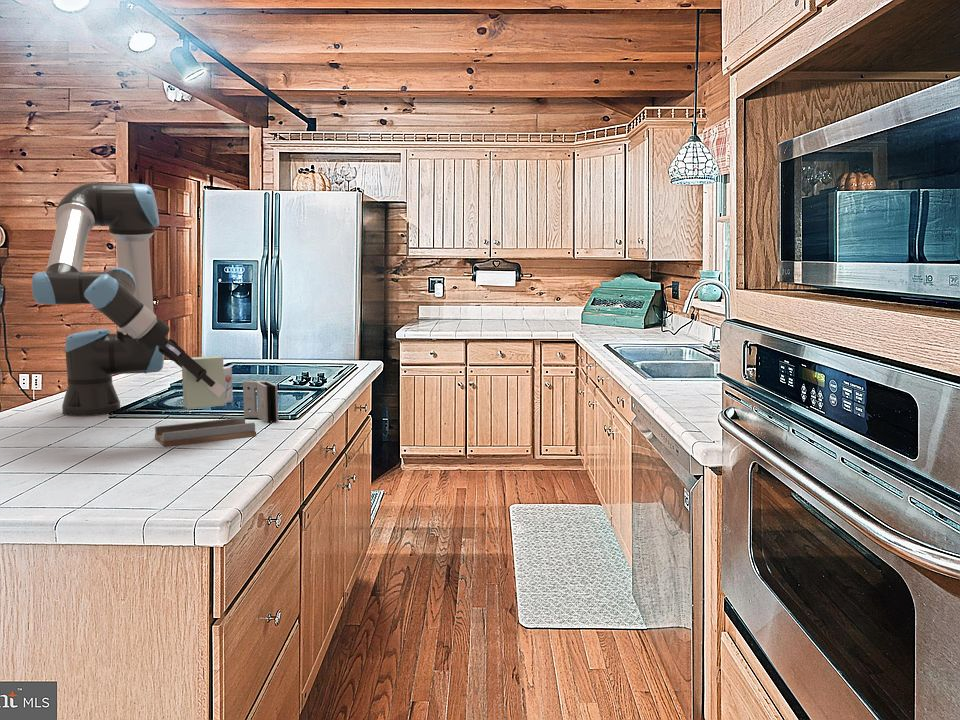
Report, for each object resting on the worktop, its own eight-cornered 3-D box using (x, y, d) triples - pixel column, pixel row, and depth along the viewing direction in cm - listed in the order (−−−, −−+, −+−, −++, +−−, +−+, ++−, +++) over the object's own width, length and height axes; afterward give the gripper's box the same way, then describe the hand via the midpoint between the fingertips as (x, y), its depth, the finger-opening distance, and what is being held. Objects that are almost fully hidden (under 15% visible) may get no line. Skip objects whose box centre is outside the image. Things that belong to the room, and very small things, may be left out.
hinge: (243, 416, 235) (242, 380, 234) (260, 413, 239) (259, 379, 238) (268, 423, 225) (267, 386, 224) (285, 421, 229) (284, 384, 228)
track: (154, 437, 208) (154, 426, 207) (243, 427, 220) (242, 416, 219) (164, 446, 199) (164, 434, 198) (256, 435, 210) (255, 424, 210)
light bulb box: (205, 407, 249) (204, 371, 247) (190, 404, 252) (189, 369, 251) (234, 401, 258) (232, 366, 256) (219, 399, 261) (218, 365, 260)
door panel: (183, 406, 207) (181, 358, 205) (220, 403, 212) (218, 355, 210) (187, 408, 204) (185, 359, 202) (224, 405, 208) (223, 357, 207)
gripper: (128, 337, 204) (200, 398, 215) (142, 343, 190) (218, 408, 201) (150, 314, 207) (220, 376, 217) (165, 319, 192) (240, 384, 203)
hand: (219, 391), depth 209 cm, fingers closed on door panel, 4 cm apart
